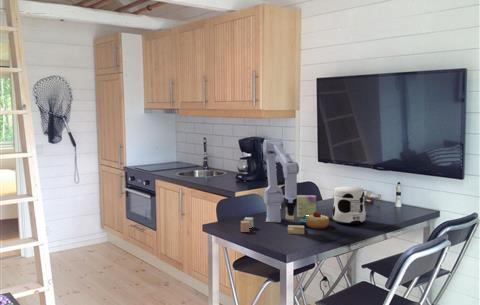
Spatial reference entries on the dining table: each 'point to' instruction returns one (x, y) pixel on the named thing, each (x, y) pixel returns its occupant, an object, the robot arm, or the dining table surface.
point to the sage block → (249, 221)
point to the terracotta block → (244, 226)
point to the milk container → (349, 205)
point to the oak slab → (295, 229)
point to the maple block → (288, 215)
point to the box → (306, 205)
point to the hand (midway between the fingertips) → (290, 214)
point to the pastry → (317, 221)
